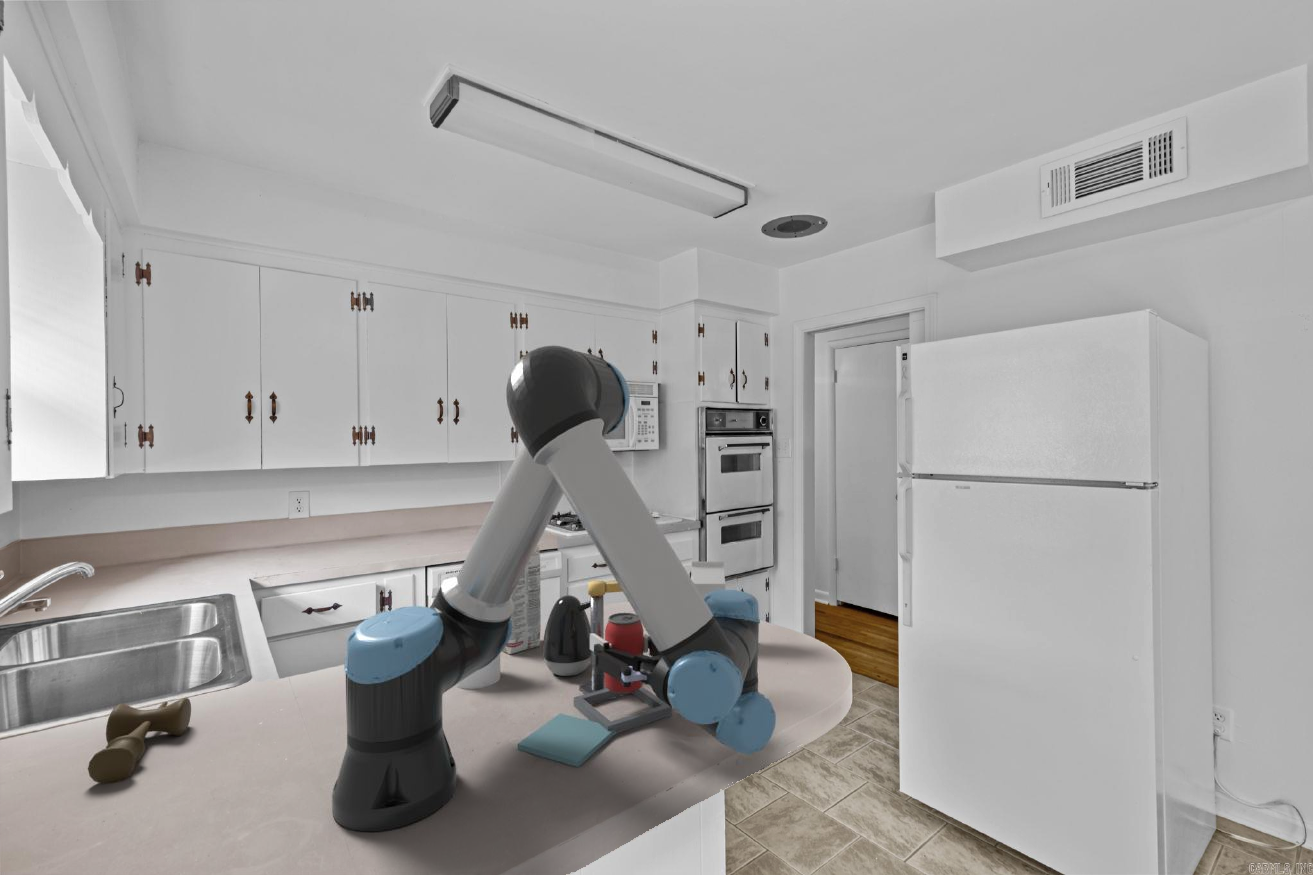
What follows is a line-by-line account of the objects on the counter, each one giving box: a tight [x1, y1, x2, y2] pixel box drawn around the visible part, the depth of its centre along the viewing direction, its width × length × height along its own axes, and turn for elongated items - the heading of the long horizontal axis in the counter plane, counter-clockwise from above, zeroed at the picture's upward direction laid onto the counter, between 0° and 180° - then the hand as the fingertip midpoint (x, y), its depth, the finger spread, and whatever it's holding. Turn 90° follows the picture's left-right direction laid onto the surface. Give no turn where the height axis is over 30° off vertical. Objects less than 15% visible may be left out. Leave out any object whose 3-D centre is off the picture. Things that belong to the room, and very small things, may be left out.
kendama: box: [87, 697, 192, 784], centre depth 92 cm, size 6×10×20 cm
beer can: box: [604, 612, 644, 695], centre depth 103 cm, size 7×7×12 cm
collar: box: [573, 686, 673, 734], centre depth 104 cm, size 12×12×2 cm
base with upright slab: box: [454, 653, 501, 690], centre depth 117 cm, size 9×9×12 cm
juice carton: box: [502, 544, 542, 655], centre depth 134 cm, size 9×8×24 cm
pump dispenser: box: [542, 594, 591, 677], centre depth 121 cm, size 10×10×15 cm
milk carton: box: [690, 561, 726, 599], centre depth 134 cm, size 7×7×19 cm
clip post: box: [578, 595, 606, 695], centre depth 111 cm, size 5×5×18 cm
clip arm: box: [587, 580, 623, 596], centre depth 113 cm, size 16×3×4 cm, turn 107°
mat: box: [516, 713, 617, 768], centre depth 94 cm, size 11×11×1 cm
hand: (609, 637), depth 108 cm, fingers closed on beer can, 6 cm apart
